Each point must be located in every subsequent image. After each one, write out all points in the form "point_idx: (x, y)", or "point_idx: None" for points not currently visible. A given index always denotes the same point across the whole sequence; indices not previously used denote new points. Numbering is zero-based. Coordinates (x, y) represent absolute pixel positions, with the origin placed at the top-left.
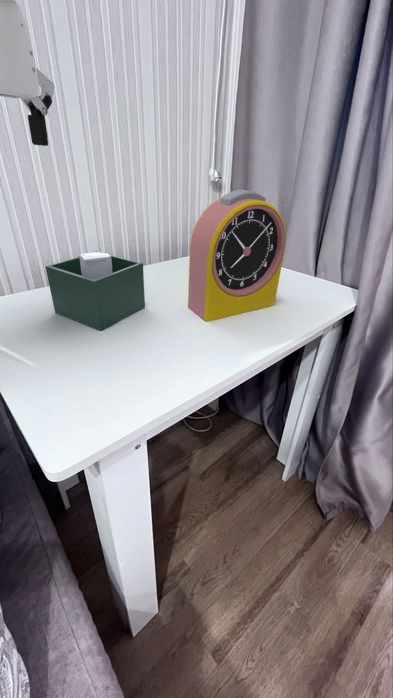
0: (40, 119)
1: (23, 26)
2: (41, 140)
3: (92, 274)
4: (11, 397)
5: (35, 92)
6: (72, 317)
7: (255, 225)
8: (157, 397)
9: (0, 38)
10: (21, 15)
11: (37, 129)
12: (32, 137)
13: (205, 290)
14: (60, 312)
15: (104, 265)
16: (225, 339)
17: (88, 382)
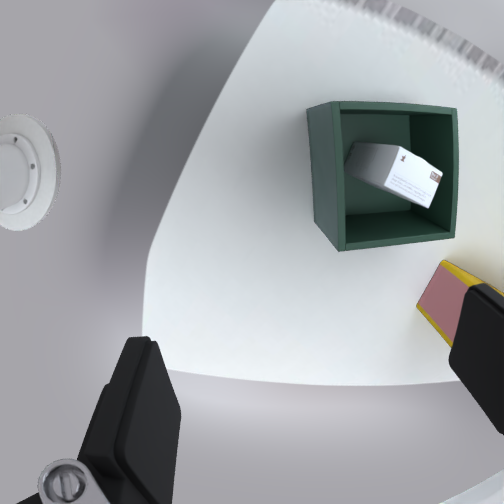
0: (497, 425)
1: None
2: (459, 360)
3: (379, 185)
4: (148, 268)
5: None
6: (311, 156)
7: None
8: (254, 365)
9: None
10: None
11: (484, 377)
12: (480, 311)
13: (439, 326)
14: (309, 125)
15: (407, 198)
16: (387, 347)
17: (222, 305)
